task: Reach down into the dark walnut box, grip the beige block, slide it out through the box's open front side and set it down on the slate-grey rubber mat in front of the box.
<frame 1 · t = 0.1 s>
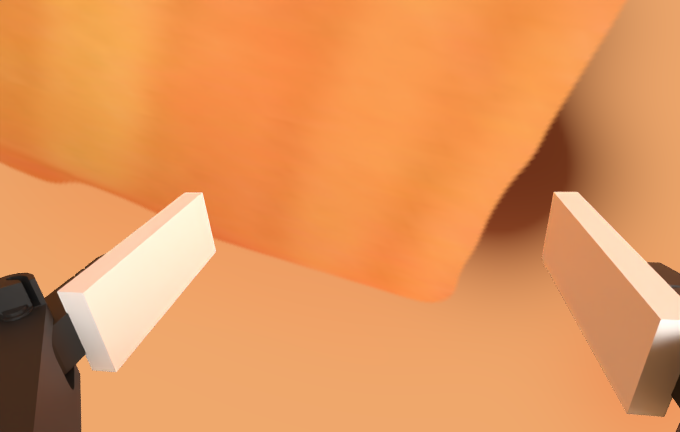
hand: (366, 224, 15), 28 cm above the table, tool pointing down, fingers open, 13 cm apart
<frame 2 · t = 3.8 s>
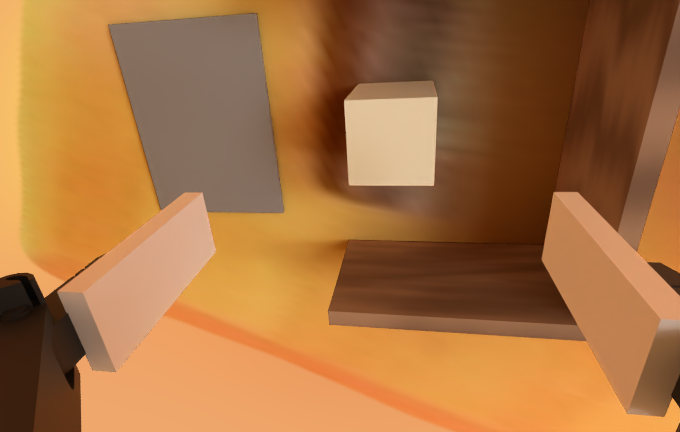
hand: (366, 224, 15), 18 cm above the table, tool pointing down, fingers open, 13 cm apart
open box: (448, 117, 30), on the table
beige block: (395, 119, 31), on the table
grey mat: (204, 124, 34), on the table
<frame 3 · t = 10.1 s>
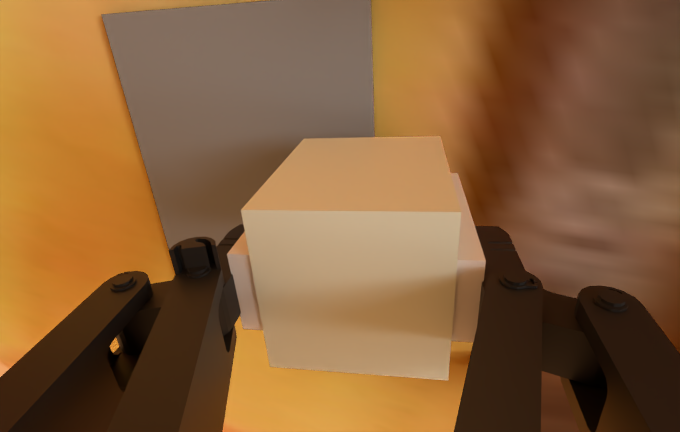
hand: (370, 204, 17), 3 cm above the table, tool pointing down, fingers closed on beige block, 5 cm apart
beige block: (372, 199, 17), point 3 cm above the table, touching gripper
grey mat: (259, 179, 21), on the table
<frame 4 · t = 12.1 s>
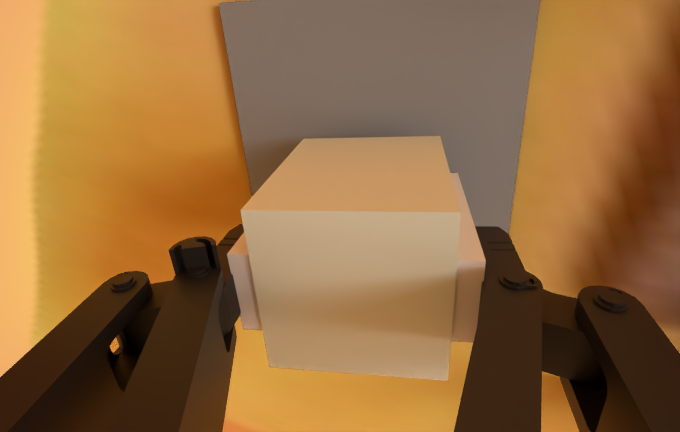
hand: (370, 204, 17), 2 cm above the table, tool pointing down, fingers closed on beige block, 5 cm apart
beige block: (371, 199, 17), point 2 cm above the table, touching gripper
grey mat: (376, 187, 19), on the table
when the fingers open (1 cm above the table, at t = 13.0 s): beige block stays where it is, resting on grey mat.
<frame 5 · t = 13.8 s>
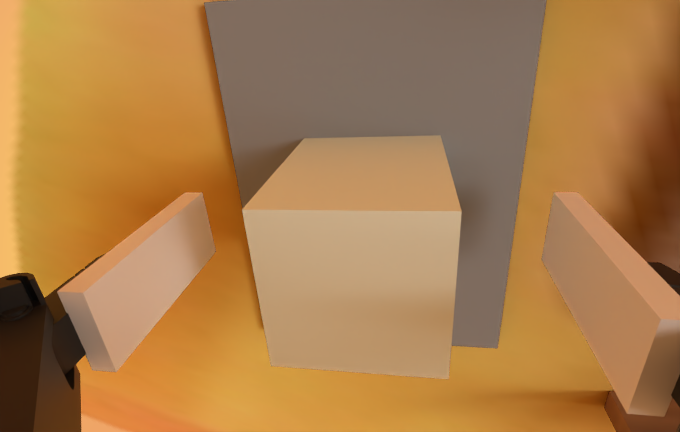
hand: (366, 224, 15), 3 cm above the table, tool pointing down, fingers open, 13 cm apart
beige block: (372, 199, 17), resting on grey mat
grey mat: (372, 196, 18), on the table
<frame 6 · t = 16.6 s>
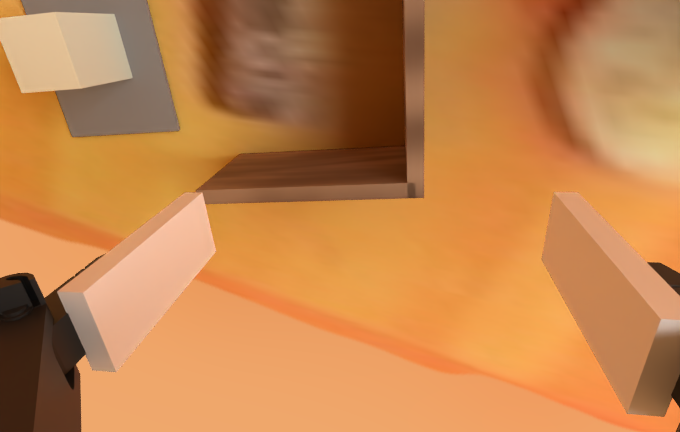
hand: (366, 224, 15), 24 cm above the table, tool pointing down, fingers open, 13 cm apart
open box: (305, 29, 35), on the table
beige block: (97, 49, 38), resting on grey mat
grey mat: (100, 49, 38), on the table
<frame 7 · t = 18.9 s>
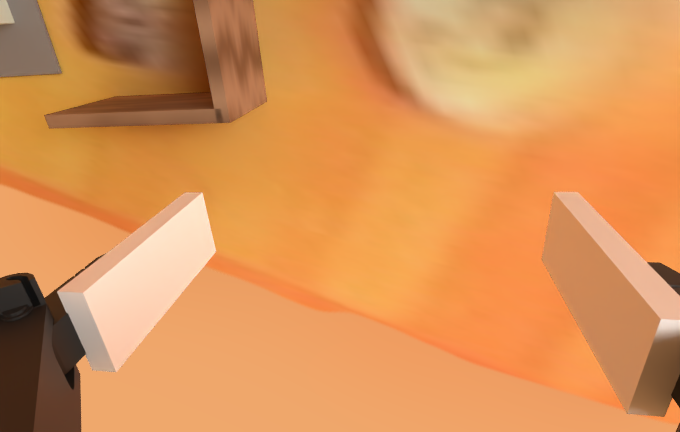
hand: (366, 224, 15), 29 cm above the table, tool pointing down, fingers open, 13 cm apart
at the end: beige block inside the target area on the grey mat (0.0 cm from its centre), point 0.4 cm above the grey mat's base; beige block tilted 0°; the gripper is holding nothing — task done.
